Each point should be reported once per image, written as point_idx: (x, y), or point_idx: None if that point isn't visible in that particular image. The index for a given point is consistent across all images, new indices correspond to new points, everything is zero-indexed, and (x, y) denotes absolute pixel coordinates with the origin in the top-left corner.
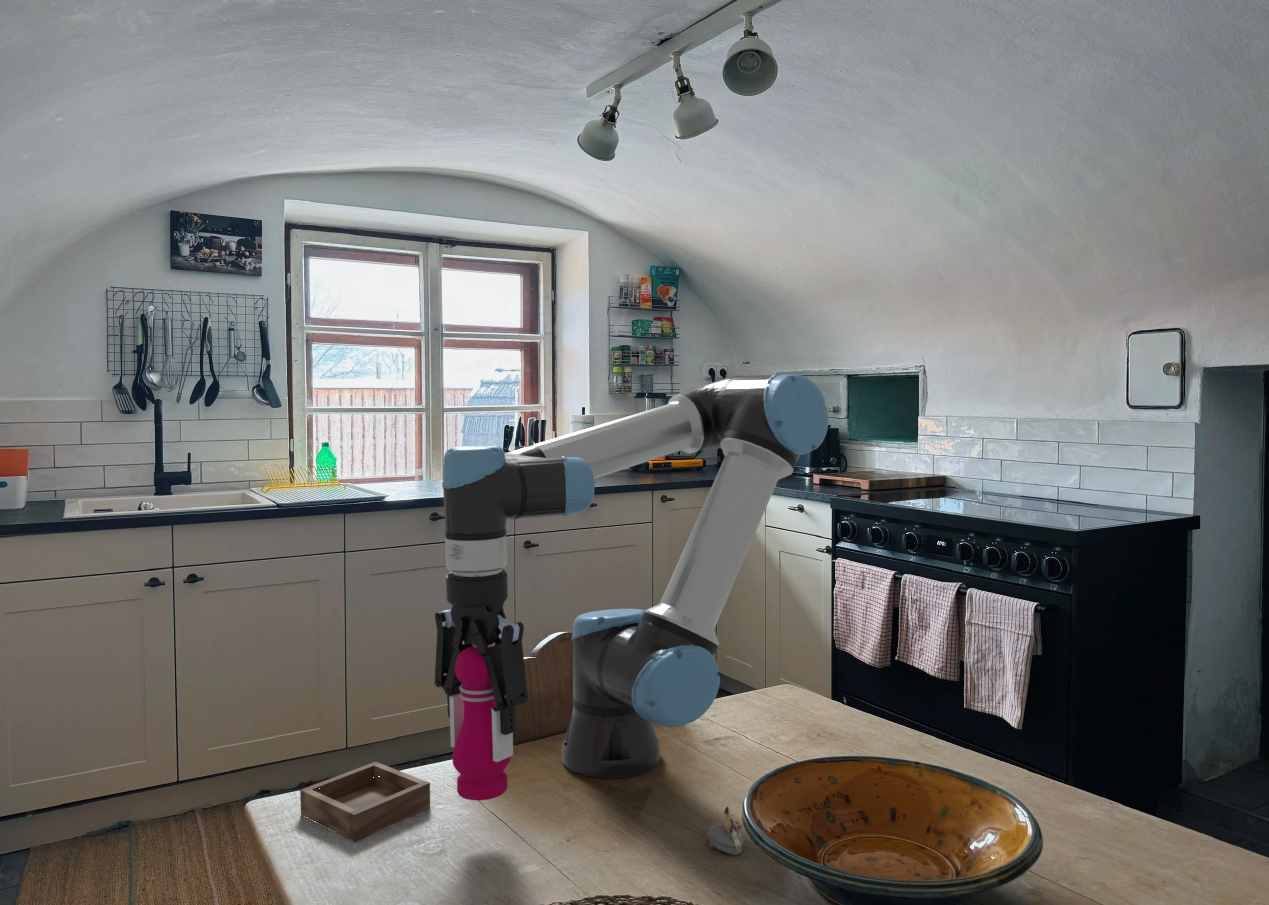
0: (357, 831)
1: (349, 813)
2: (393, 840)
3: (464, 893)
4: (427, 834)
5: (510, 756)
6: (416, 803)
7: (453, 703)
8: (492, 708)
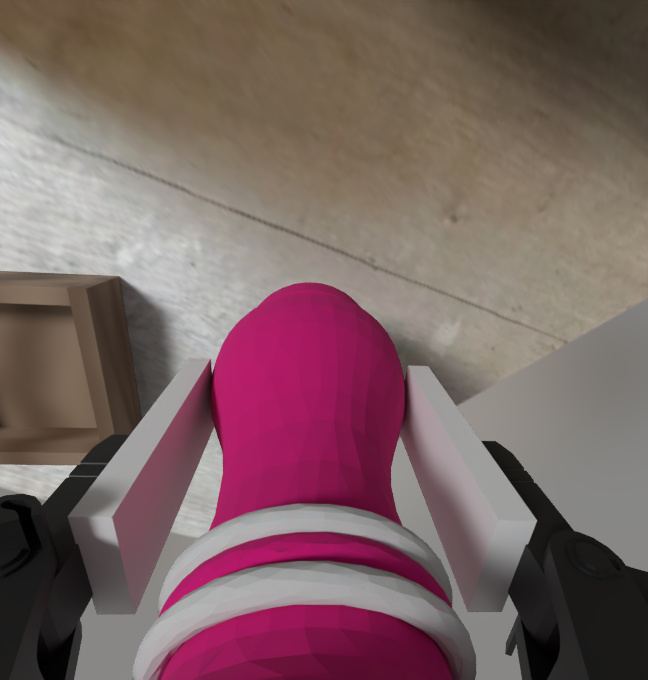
0: None
1: None
2: None
3: None
4: (213, 352)
5: (384, 329)
6: (113, 318)
7: (150, 577)
8: (469, 607)
